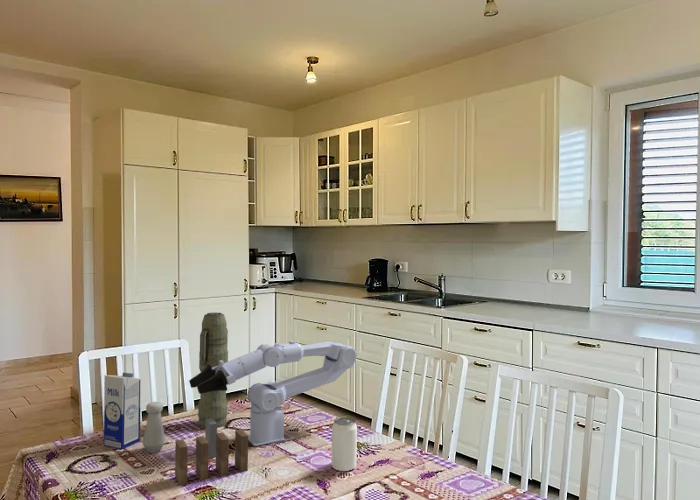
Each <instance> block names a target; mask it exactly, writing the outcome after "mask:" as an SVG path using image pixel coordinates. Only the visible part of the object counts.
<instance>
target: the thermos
mask: <svg viewBox="0 0 700 500" xmlns="http://www.w3.org/2000/svg"><path fill="white" fill-rule="evenodd" d="M227 326H228V324H227V320H226V317H225V314H224V313H222V312H207V313H205V314H204V316H203V318H202V321H201V332H200V334H199V351H198V352H199V354H198V355H199V357H198V359H199V360H198V365H199V366H198V369H199V371H200V372H199V373H201V372H202V371H203V370H204V369H205V368H206V366H207V365H209V364H210V365H211V367H212V368H213V367H215V366H218V365H219V361H220V360H222V361H223V362H224V363H226V362H228V361H229V350H228V343H229V342H228V339H229V338H228V337H229V336H228V331H229V330H228V328H227ZM199 396H200V398H199V400H198V402H197V403H198V404H197V405H198V406H197V407H198V408H197V410H198V411H197V413H198V414H197V416H198V426H199V427H200V428H203V429H205V427H206V419H209V418H213V419H214V421H215V422H216V423H217V429H218V428H221V427H224V426H225V425H227V424H228V420H227V419H228V418H227V417H228V405H229V404H228V400H227V391H211V392H207V393H202V394H200V395H199Z"/></svg>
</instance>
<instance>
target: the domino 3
mask: <svg viewBox="0 0 700 500" xmlns="http://www.w3.org/2000/svg"><path fill="white" fill-rule="evenodd" d="M204 429H205V431H204V433H205V434H204V437H205V439H206V440H207V441H208V442H209V454H208V458H209V459H211V458H216V434H218V428H217V423H216V422H215V421H214V419H213V418H209V419H206V427H205V428H204Z"/></svg>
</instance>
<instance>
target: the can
mask: <svg viewBox="0 0 700 500" xmlns="http://www.w3.org/2000/svg"><path fill="white" fill-rule="evenodd" d="M356 422H357V421H356V420H355V419H354V418H352V417H346V416H342V417H337V418H335V419H334V420H333V424H332V427H331V467H332V469H333V468H334V469H333V470H335V469H336V470H335V471H337V470H339V471H338V472H341V471H348V472H350V471H349V470H352V469H353V470H355V468H356V467H357V458H358V457H357V454H358V453H357V452H358V451H357V449H358V446H357V444H358V443H357V442H358V427H357V424H356ZM353 470H352V471H353Z"/></svg>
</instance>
